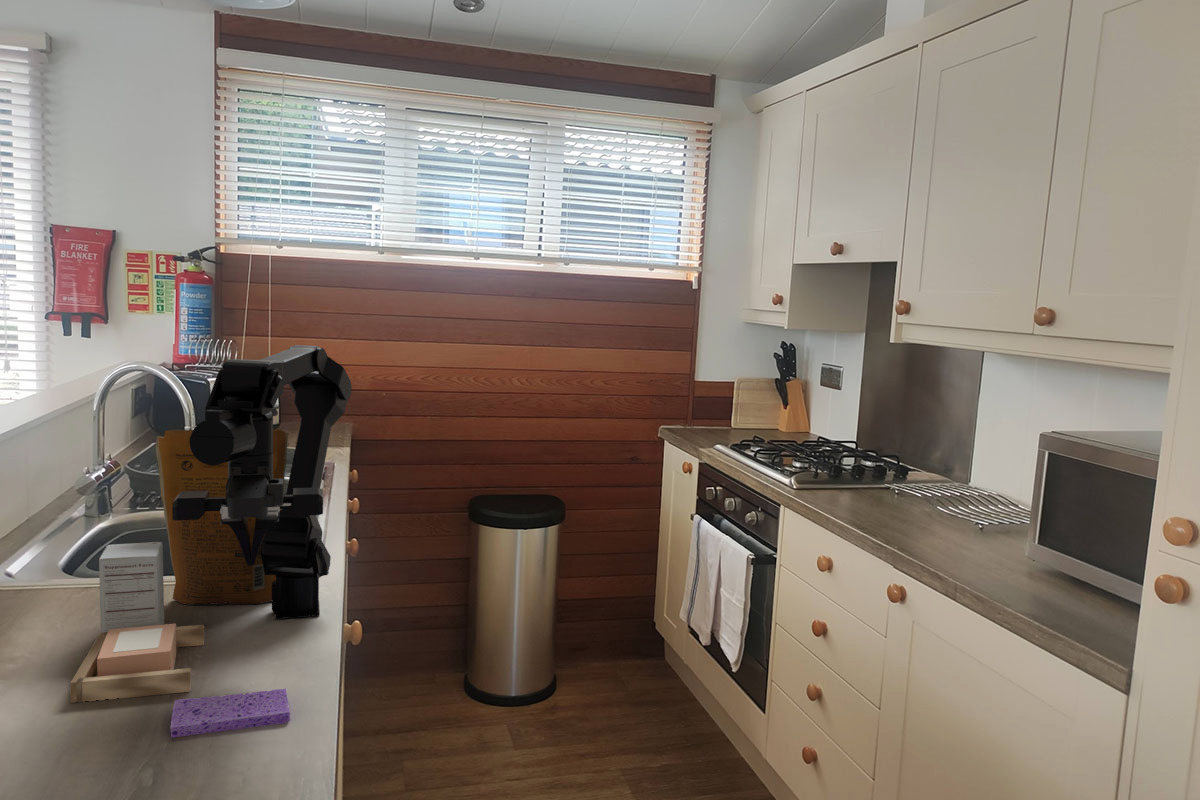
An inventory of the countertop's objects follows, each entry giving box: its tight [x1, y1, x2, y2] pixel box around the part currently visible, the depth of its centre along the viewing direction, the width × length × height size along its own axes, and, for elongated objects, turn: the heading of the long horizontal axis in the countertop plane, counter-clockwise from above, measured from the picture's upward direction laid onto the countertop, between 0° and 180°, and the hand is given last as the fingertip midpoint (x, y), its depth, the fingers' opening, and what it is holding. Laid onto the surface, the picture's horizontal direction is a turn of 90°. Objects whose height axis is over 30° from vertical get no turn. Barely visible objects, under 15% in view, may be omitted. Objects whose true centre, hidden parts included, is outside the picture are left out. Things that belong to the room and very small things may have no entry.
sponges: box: [170, 687, 291, 738], centre depth 101 cm, size 7×13×2 cm, turn 112°
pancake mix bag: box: [155, 428, 290, 606], centre depth 137 cm, size 7×19×28 cm, turn 98°
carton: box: [96, 623, 177, 677], centre depth 111 cm, size 8×10×5 cm
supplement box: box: [98, 541, 165, 633], centre depth 122 cm, size 7×7×13 cm
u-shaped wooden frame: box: [70, 624, 205, 704], centre depth 112 cm, size 13×16×2 cm
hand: (250, 564), depth 119 cm, fingers closed
